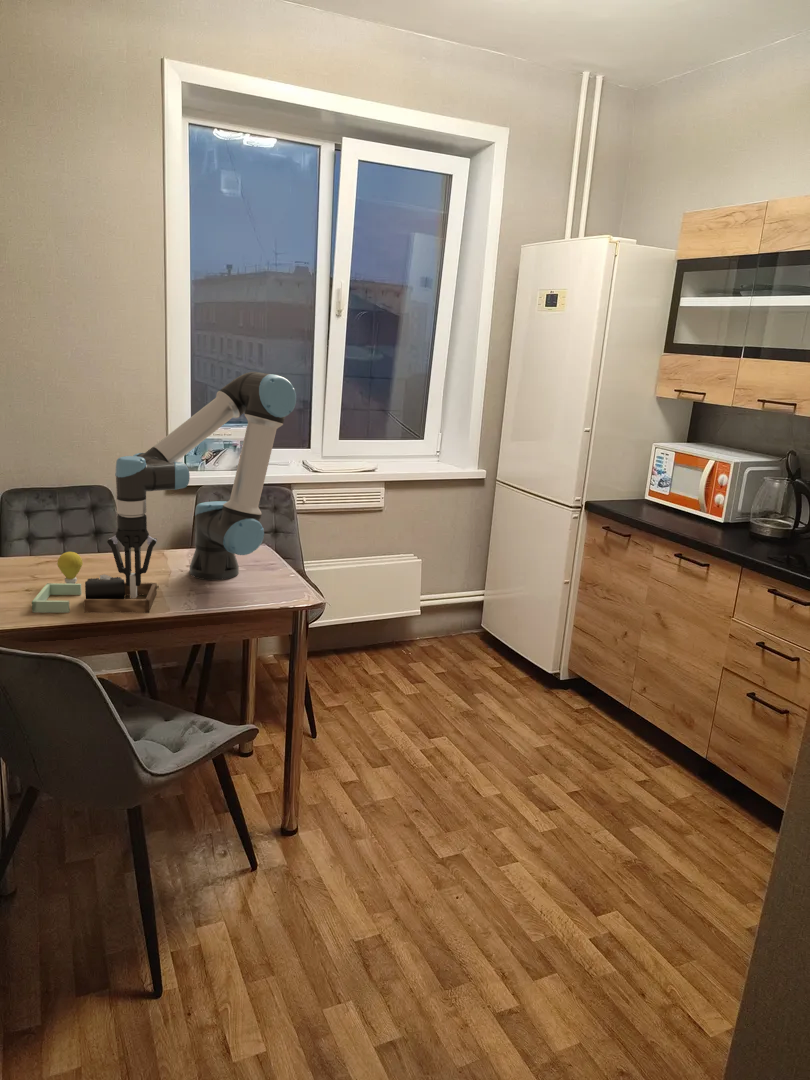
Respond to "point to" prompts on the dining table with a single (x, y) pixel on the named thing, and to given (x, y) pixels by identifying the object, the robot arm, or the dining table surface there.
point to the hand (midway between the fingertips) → (133, 596)
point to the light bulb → (70, 566)
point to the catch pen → (46, 605)
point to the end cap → (105, 588)
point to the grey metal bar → (105, 577)
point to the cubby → (124, 601)
